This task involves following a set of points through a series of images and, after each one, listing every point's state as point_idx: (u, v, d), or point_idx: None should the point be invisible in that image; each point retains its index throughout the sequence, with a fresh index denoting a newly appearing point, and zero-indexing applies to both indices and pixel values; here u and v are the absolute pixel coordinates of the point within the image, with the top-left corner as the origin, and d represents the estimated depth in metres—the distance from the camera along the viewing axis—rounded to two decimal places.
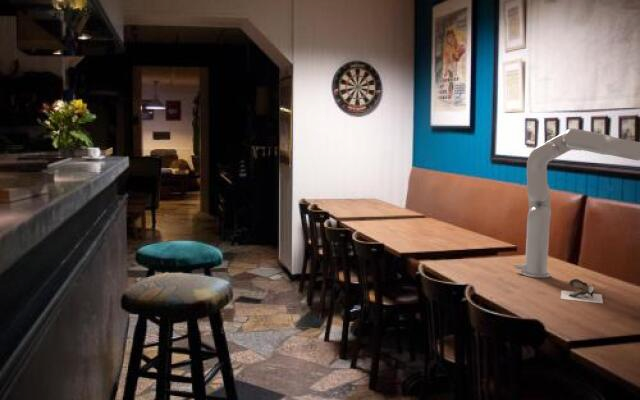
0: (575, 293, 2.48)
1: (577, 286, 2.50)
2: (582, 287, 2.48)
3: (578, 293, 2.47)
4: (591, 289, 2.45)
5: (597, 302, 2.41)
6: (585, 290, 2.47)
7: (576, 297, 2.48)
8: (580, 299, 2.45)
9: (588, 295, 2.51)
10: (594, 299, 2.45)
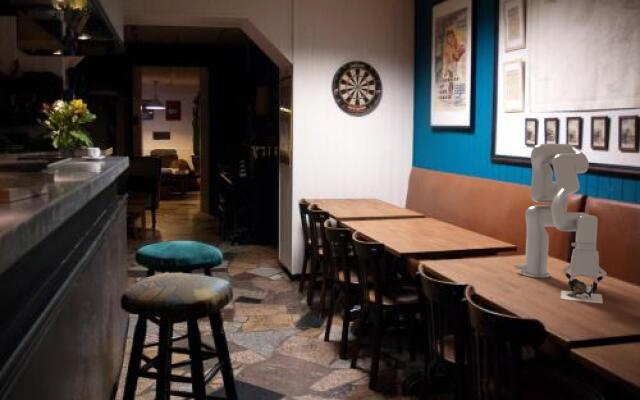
0: (573, 293, 2.48)
1: (575, 286, 2.50)
2: (580, 287, 2.49)
3: (576, 293, 2.47)
4: (589, 289, 2.45)
5: (597, 302, 2.41)
6: (583, 290, 2.47)
7: (576, 297, 2.48)
8: (580, 299, 2.45)
9: (588, 295, 2.51)
10: (594, 299, 2.45)
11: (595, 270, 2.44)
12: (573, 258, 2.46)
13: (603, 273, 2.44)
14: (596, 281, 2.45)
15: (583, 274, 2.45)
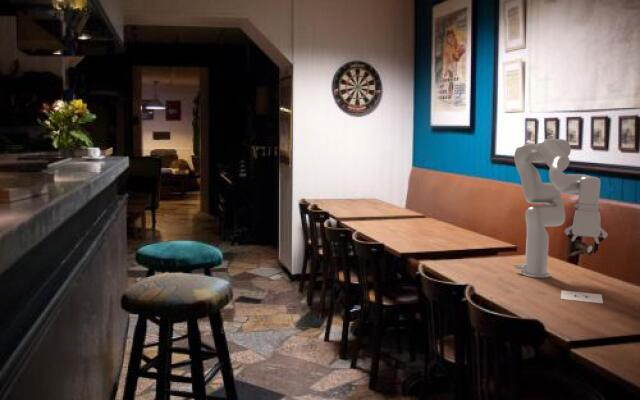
0: (574, 253, 2.53)
1: (577, 246, 2.55)
2: (581, 247, 2.53)
3: (577, 253, 2.52)
4: (590, 249, 2.50)
5: (597, 302, 2.41)
6: (584, 250, 2.52)
7: (576, 297, 2.48)
8: (580, 299, 2.45)
9: (588, 295, 2.51)
10: (594, 299, 2.45)
11: (596, 231, 2.48)
12: (575, 219, 2.51)
13: (604, 234, 2.49)
14: (597, 241, 2.50)
15: (584, 234, 2.50)
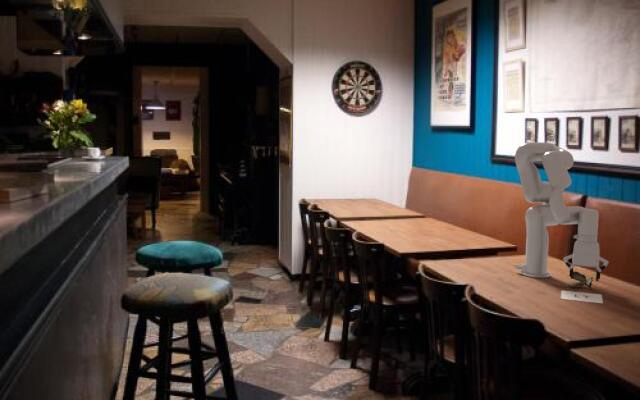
0: (574, 284, 2.63)
1: (576, 278, 2.64)
2: (581, 279, 2.63)
3: (576, 284, 2.62)
4: (589, 281, 2.60)
5: (597, 302, 2.41)
6: (583, 282, 2.61)
7: (576, 297, 2.48)
8: (580, 299, 2.45)
9: (588, 295, 2.51)
10: (594, 299, 2.45)
11: (596, 261, 2.57)
12: (575, 249, 2.60)
13: (605, 262, 2.58)
14: (599, 270, 2.59)
15: (584, 265, 2.59)
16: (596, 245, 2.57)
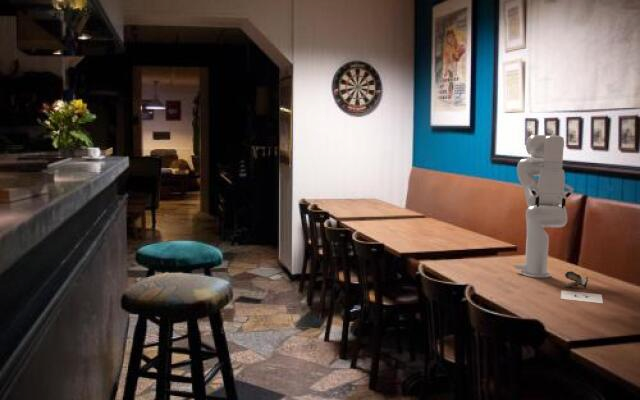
0: (569, 284, 2.63)
1: (571, 278, 2.64)
2: (576, 279, 2.63)
3: (572, 284, 2.62)
4: (584, 281, 2.60)
5: (597, 302, 2.41)
6: (578, 282, 2.61)
7: (576, 297, 2.48)
8: (580, 299, 2.45)
9: (588, 295, 2.51)
10: (594, 299, 2.45)
11: (561, 187, 2.57)
12: (540, 177, 2.60)
13: (570, 189, 2.58)
14: (564, 197, 2.58)
15: (550, 192, 2.58)
16: (561, 171, 2.56)
